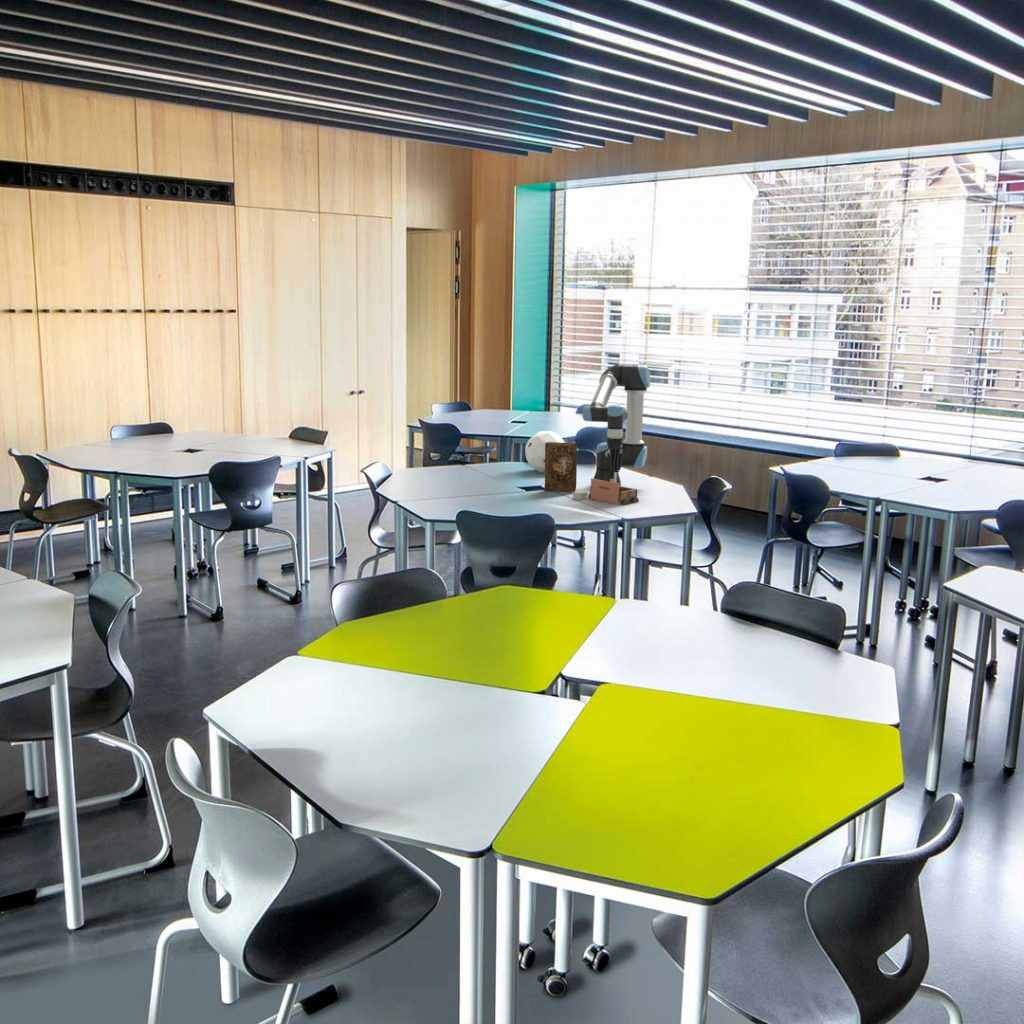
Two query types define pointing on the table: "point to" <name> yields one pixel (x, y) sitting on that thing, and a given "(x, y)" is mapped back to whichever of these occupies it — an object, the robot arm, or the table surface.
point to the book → (560, 467)
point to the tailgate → (605, 491)
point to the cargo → (579, 495)
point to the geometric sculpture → (539, 448)
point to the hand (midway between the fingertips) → (613, 485)
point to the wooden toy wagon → (625, 495)
